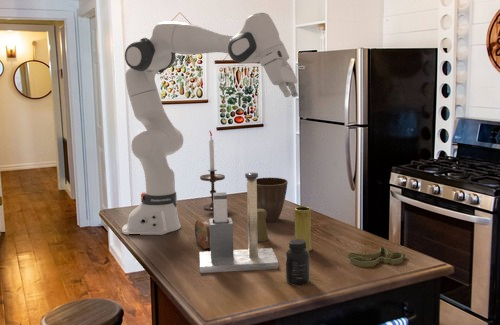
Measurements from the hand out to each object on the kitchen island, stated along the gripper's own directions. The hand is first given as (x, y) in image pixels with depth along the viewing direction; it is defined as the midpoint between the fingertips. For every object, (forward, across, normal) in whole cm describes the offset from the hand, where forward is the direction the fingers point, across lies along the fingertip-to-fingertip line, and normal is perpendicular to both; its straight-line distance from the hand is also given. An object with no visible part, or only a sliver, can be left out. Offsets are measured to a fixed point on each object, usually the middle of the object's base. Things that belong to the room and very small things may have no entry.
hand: (292, 96), depth 184 cm
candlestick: (+24, -45, -64) cm, 82 cm away
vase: (+49, -1, -18) cm, 52 cm away
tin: (+35, +4, -49) cm, 60 cm away
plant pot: (+38, -34, -37) cm, 63 cm away
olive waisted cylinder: (+41, -8, -34) cm, 54 cm away
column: (+38, +20, -37) cm, 57 cm away
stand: (+42, +18, -34) cm, 57 cm away
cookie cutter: (+60, +3, +4) cm, 60 cm away
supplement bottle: (+52, +27, -14) cm, 61 cm away
